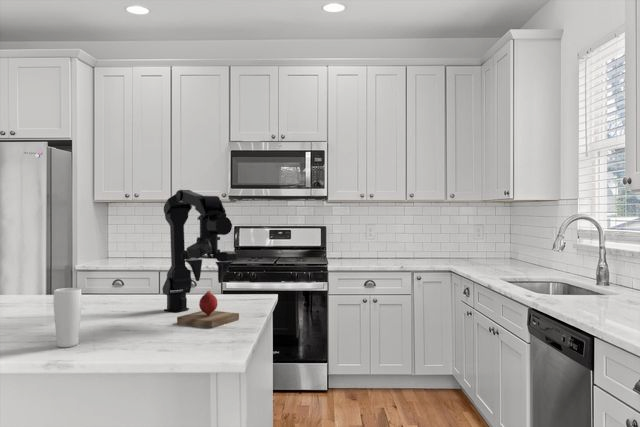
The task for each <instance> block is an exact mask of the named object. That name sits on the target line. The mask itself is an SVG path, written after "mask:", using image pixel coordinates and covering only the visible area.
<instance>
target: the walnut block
mask: <svg viewBox="0 0 640 427" xmlns="http://www.w3.org/2000/svg"><path fill="white" fill-rule="evenodd" d="M239 320H240V313H238V312H228V311H219V310H214V311H213V312H212V313H211V314H210V315H207V314H205V313H204V312H203V311H202V310H199V311H195V312H192V313H189V314H188V313H187V314H184V315H180V316H179V315H178V316H177V317H176V324H177V325H182V326H183V325H184V326H191V327H197V328H199V327H200V328H207V329H215V328H218V327H220V326H224V324H225V325H228V324H230V323H234V322H236V321H239Z"/></svg>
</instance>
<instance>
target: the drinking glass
mask: <svg viewBox="0 0 640 427" xmlns="http://www.w3.org/2000/svg"><path fill="white" fill-rule="evenodd" d="M82 296H83V295H82V288H80V287H65V288H64V287H63V288H57V289H54V290H53V315H54V324H55V336H56V337H55V338H56V341H55V342H56V346H57V347H58V348H72V347H75V346H77V345H78V344H79V342H80V327H81V315H82V314H81V313H82V305H83V304H82V302H83V300H82V298H83V297H82Z"/></svg>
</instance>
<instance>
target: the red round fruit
mask: <svg viewBox="0 0 640 427" xmlns="http://www.w3.org/2000/svg"><path fill="white" fill-rule="evenodd" d="M198 305H199V309H200V311H203V312H204V313H205V314H207V315H210V314H211V313H212V312H213V311H216V309H217V308H218V299H217V297H216V296H215V295H214V294H212V291H211V290H207V291H206V292H205V294H203V295H202V296H201V298H200V299H199V304H198Z"/></svg>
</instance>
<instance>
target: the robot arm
mask: <svg viewBox="0 0 640 427" xmlns="http://www.w3.org/2000/svg"><path fill="white" fill-rule="evenodd" d="M192 207H195V208H194V210H196V212H198V213H199V214H200V215H198V217H197V220H198V221H199V236H198V237H197V238H196V242H195V243H193V244H191V245H190V246H188V247H187V248H185V245H186V244H185V224H186V222H187V221H188V218H189V214H190V211H191V210H192ZM163 213H164V216H165V217H164V218H165V221H166V222H167V223H168V225H169V229H170V230H169V231H170V232H169V234H170V257H171V258H170V259H171V260H170V261H171V265H170V268H169V269H168V272H167V273H166V280H165V282H164V284H163V285H162V294H163V295H166V308H164V309H163V312H172V313H179V312H184V311H188V310H190V308H189V307H187V306H188V304H187V302H188V299H187V298H188V297H187V294H191V291H192V290H191V289H192V283H193V281H192V273H193V276H194V278H195V281H196V282H200V280H201V275H202V274H201V272H202V266H203V264H202V263H203V259H215V260H216V261H215V264H216V266H217V280H218V281H217V282H218V284H222V283H223V280H224V278H225V276H226V274H227V272H228V269H229V268H230V266H231V264H233V263H234V261H237V258H238V255H237V252H235V251H231V250H230V251H228V250H224V251H221V249H220V248H218V247H219V244H218V243H219V242H218V241H221V236H226V235H228V234H229V233H231V231H232V229H233V224H232V221H231V219H230V218H228V217H227V212H226V210H225V207H224V205H223V203H222V200H221V198H220V197H219V196H218V195H203V194H200V193H198V192H194V191H193V190H190V189H179V190H177V191H176V193H175V194H174V195H172V196H171V197H169V198H167V200H166V201H165V203H164V205H163ZM185 249H186V250H185ZM186 263H187V264H188V265H189V266H190V268H191V269H189V268H188V267H187V266H186Z"/></svg>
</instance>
